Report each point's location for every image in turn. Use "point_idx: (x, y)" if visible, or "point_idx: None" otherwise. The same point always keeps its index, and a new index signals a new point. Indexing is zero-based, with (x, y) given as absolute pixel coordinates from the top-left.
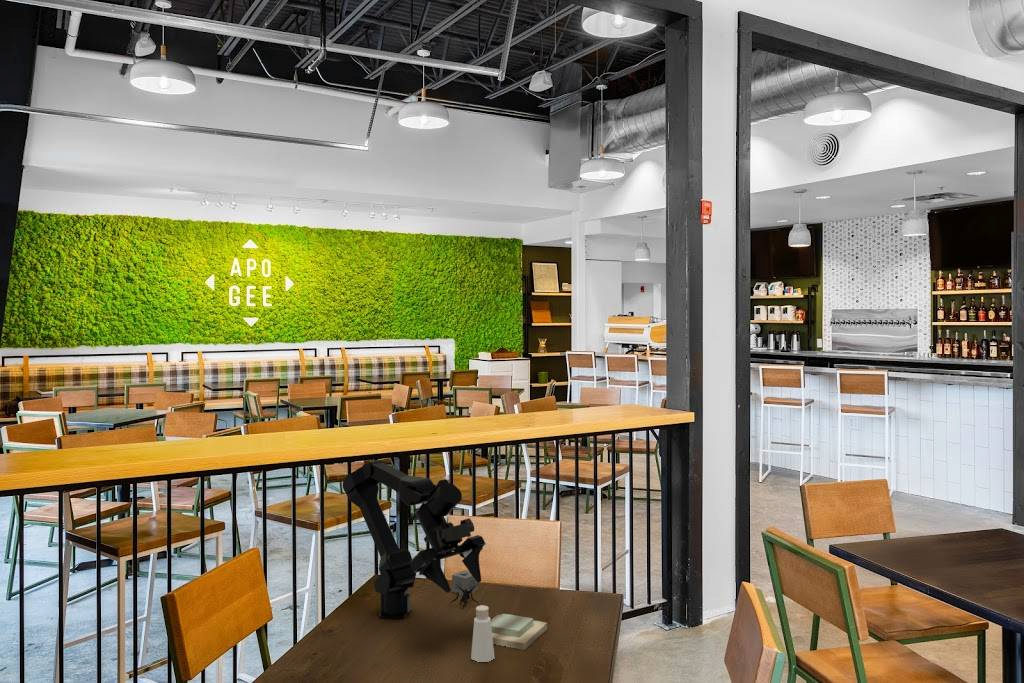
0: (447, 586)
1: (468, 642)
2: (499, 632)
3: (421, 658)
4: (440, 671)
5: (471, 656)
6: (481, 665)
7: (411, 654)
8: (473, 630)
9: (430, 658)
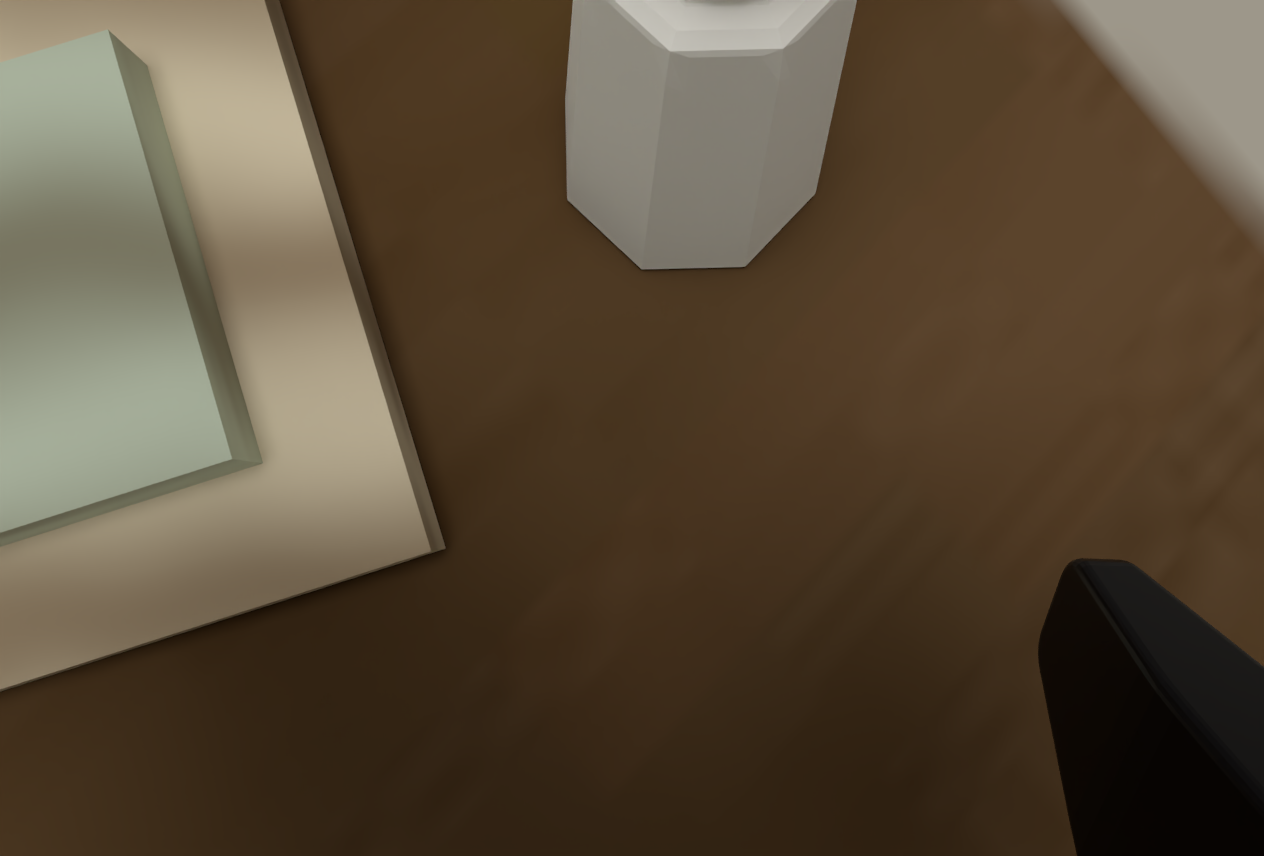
0: (1216, 646)
1: (511, 554)
2: (209, 306)
3: None
4: (1205, 245)
5: (800, 202)
6: None
7: None
8: (797, 108)
9: None
